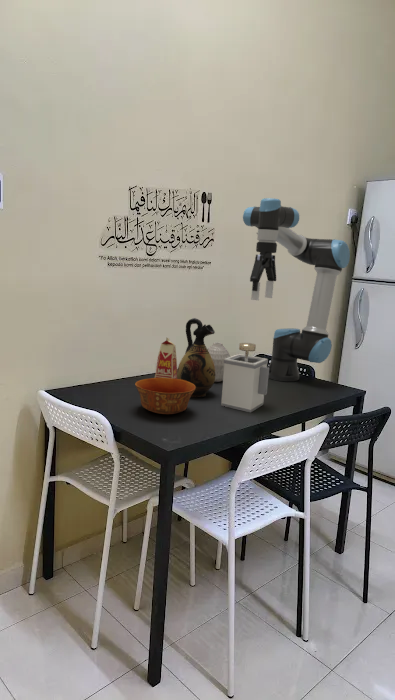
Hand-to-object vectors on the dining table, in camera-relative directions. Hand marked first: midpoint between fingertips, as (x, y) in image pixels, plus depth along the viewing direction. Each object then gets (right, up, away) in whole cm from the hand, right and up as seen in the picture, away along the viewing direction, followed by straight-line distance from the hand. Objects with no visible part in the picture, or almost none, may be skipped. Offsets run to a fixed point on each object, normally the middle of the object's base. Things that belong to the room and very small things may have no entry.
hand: (261, 298), depth 196 cm
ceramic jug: (-26, -37, +11) cm, 46 cm away
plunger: (-7, -38, -1) cm, 39 cm away
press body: (-6, -40, -1) cm, 41 cm away
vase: (-16, -33, +34) cm, 50 cm away
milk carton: (-38, -33, +24) cm, 56 cm away
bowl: (-36, -41, -13) cm, 56 cm away
